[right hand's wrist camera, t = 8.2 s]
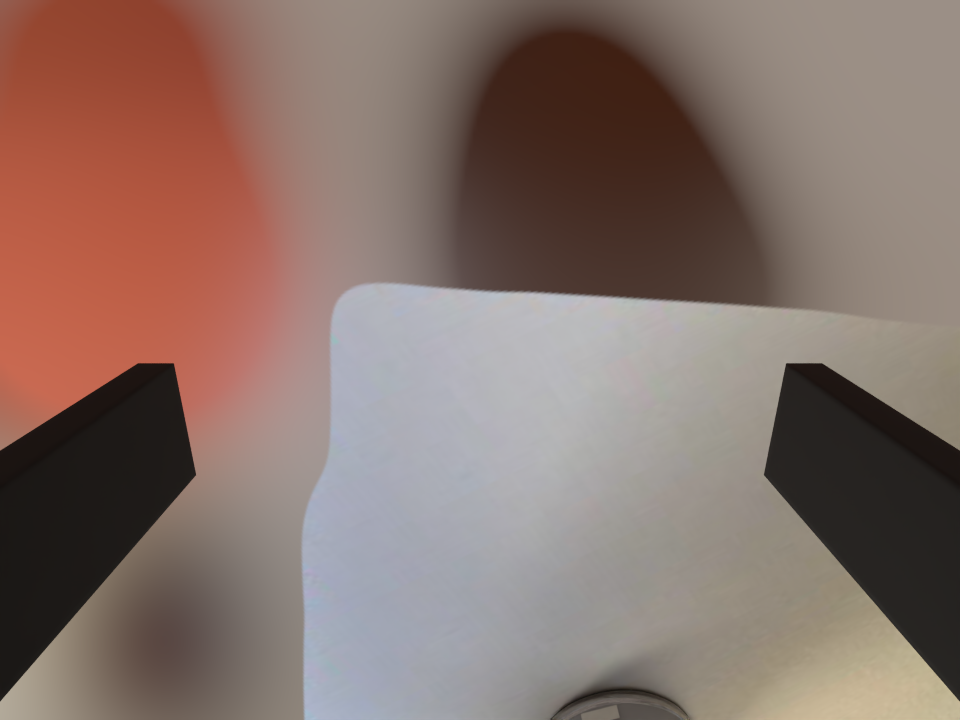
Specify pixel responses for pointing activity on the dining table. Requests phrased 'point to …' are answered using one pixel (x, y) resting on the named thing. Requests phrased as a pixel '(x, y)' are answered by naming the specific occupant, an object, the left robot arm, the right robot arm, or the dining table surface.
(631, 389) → the dining table surface
